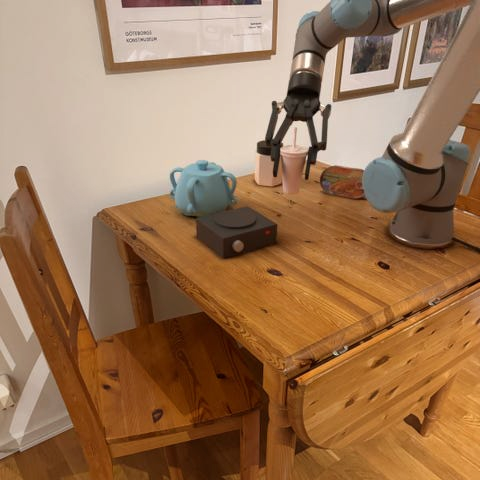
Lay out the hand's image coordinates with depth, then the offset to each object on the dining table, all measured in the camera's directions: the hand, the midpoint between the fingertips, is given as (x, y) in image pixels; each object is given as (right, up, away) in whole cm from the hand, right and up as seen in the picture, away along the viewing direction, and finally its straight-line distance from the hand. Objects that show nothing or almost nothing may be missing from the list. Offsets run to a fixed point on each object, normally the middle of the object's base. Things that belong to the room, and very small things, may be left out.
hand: (290, 175), depth 99 cm
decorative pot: (-21, -2, +25) cm, 33 cm away
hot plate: (-12, -12, +10) cm, 20 cm away
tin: (+20, +6, +36) cm, 42 cm away
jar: (-2, +12, +44) cm, 46 cm away
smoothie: (+1, -2, +6) cm, 6 cm away
